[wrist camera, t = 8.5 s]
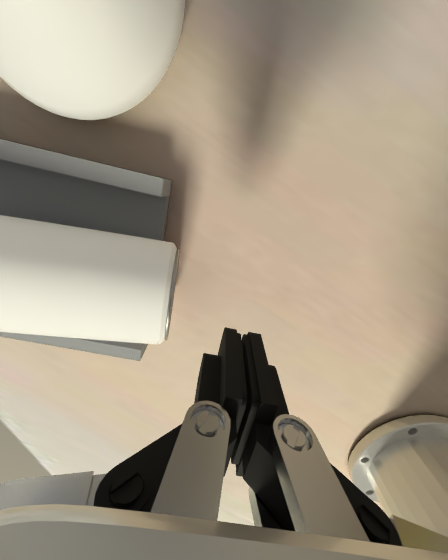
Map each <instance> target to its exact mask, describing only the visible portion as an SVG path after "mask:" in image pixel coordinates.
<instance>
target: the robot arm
mask: <svg viewBox="0 0 448 560" xmlns="http://www.w3.org/2000/svg"><path fill="white" fill-rule="evenodd" d="M230 458H231V463H232V464H236V476H243V479H244V480H245V481H246V483H247V484H248V485H249V499H250V504H251V509H252V514H253V519H254V524H255V526H250V525H243V524H235V523H228V522H220V521H217V518H218V511H219V504H220V497H221V490H222V483H223V477H224V476H225V473H226V470H227V467H228V464H229V461H230ZM348 470H349V474H350V477H351V479H352V481H353V483H354V484H353V483H352V482H351V481H350V480H349V479H347V478H346V477H345V476H344V475H343V474H342V473H341V472H340V471H338V470H337V469H336V468H335V467H334V466H333V465H332V464H331V463H330V462H329V460H328V459H327V457H326V455H325V453H324V451H323V449H322V447H321V445H320V443H319V441H318V439H317V437H316V435H315V433H314V432H313V430H312V429H311V427H310V426H309V425H308V424H307V423H306V422H304V421H303V420H301V419H300V418H298V417H296V416H293V415H289V412H288V409H287V405H286V402H285V398H284V395H283V391H282V388H281V384H280V381H279V377H278V374H277V370H276V368H275V366H272V365H268V361H267V357H266V353H265V349H264V345H263V341H262V337H261V334H256V333H251V332H248V334H247V335H245V334H244V335H243V337H242V341H241V334H240V333H237V330H235V329H230V328H224V332H223V336H222V340H221V344H220V348H219V352H218V356H217V355H211V354H206V353H204V354H203V358H202V363H201V367H200V372H199V377H198V383H197V389H196V396H195V402H194V404H193V405H192V406H191V407H190V408H189V409H188V411H187V413H186V415H185V418H184V421H183V423H182V424H181V425H179V426H178V427H176V428H175V429H173V430H172V431H170V432H168V433H167V434H165V435H164V436H162V437H161V438H159V439H158V440H156V441H154V442H153V443H151V444H150V445H148V446H147V447H145V448H143V449H142V450H140V451H139V452H137V453H136V454H134V455H133V456H131V457H129V458H128V459H126V460H125V461H123V462H122V463H120V464H119V465H117V466H115V467H114V468H113V469H112V470H110V471H109V472H108V473H107V474H100V475H93V473H94V471H91V472H81V473H72V474H63V475H54V476H45V477H35V478H26V479H17V480H12V481H9V482H4V483H1V484H0V560H448V418H446V417H441V416H436V415H414V416H407V417H403V418H399V419H395V420H393V421H390V422H388V423H385V424H383V425H381V426H379V427H377V428H376V429H374V430H372V431H371V432H370V433H368V434H367V435H366V436H364V437H363V438H362V439H361V440H360V441H359V442H358V443H357V445H356V446H355V448H354V449H353V451H352V453H351V455H350V458H349V462H348ZM371 499H372V500H374V501H377V502H379V503H380V505H381V507H382V509H383V510H382V509H381V508H380V507H379V506H378V505H377V504H376V503H374V502H373V501H372V500H371Z"/></svg>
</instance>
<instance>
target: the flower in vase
mask: <svg viewBox="0 0 448 560" xmlns="http://www.w3.org/2000/svg"><path fill="white" fill-rule="evenodd" d="M184 14H185V0H0V77H1V78H2V79H3V80H4V81H5V82H6V83H7V84H8V85H9V86H10V87H11V88H13V89H14V90H15V91H17V92H18V93H19V94H20V95H22V96H23V97H24V98H26V99H27V100H29V101H31V102H32V103H34V104H35V105H37V106H39V107H41V108H43V109H45V110H47V111H50V112H52V113H55V114H58V115H61V116H64V117H68V118H73V119H79V120H98V119H105V118H109V117H113V116H116V115H119V114H121V113H123V112H126V111H128V110H130V109H132V108H133V107H134V106H136V105H137V104H139V103H140V102H142V101H143V100H144V99H145V98H146V97H147V96H148V95H149V94H150V93H151V92H152V91H153V90H154V89H155V87H156V86H157V85H158V83H159V82H160V81H161V80H162V78H163V76H164V75H165V73H166V71H167V69H168V68H169V66H170V64H171V61H172V59H173V57H174V54H175V52H176V49H177V46H178V42H179V39H180V35H181V31H182V25H183V20H184Z"/></svg>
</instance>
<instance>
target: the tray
mask: <svg viewBox="0 0 448 560" xmlns="http://www.w3.org/2000/svg"><path fill="white" fill-rule="evenodd" d="M171 184H172V180H168V179H164V178H160V177H156V176H152V175H148V174H144V173H140V172H135V171H131V170H127V169H123V168H119V167H115V166H111V165H107V164H102V163H98V162H94V161H90V160H86V159H82V158H78V157H74V156H69V155H65V154H61V153H57V152H53V151H49V150H45V149H41V148H36V147H32V146H28V145H24V144H20V143H16V142H12V141H8V140H3V139H0V215H3V216H10V217H16V218H23V219H29V220H36V221H42V222H49V223H55V224H61V225H68V226H74V227H80V228H87V229H93V230H99V231H105V232H112V233H118V234H124V235H130V236H136V237H142V238H149V239H154V240H160V241H164V234H165V227H166V220H167V212H168V205H169V198H170V191H171ZM0 337H6V338H11V339H17V340H23V341H29V342H34V343H40V344H46V345H51V346H57V347H63V348H68V349H74V350H80V351H85V352H91V353H97V354H102V355H108V356H114V357H119V358H125V359H131V360H136V361H140V360H141V358H142V356H143V354H144V352H145V350H146V347H147V345H148V344H144V343H131V342H118V341H105V340H93V339H81V338H68V337H56V336H44V335H32V334H20V333H9V332H0Z"/></svg>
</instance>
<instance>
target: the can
mask: <svg viewBox="0 0 448 560" xmlns="http://www.w3.org/2000/svg"><path fill="white" fill-rule="evenodd" d="M179 252H180V249H179V248H177V247H176V246H175V244H174V243H171V242H166V241H160V240H154V239H149V238H142V237H136V236H130V235H124V234H118V233H112V232H105V231H99V230H93V229H87V228H80V227H74V226H68V225H61V224H55V223H49V222H42V221H36V220H29V219H23V218H16V217H10V216H3V215H0V332H9V333H20V334H32V335H44V336H56V337H68V338H81V339H93V340H105V341H118V342H131V343H144V344H161V342H162V341H164V339H165V340H167V338H168V333H169V327H170V320H171V313H172V306H173V299H174V292H175V285H176V277H177V269H178V261H179Z"/></svg>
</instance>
